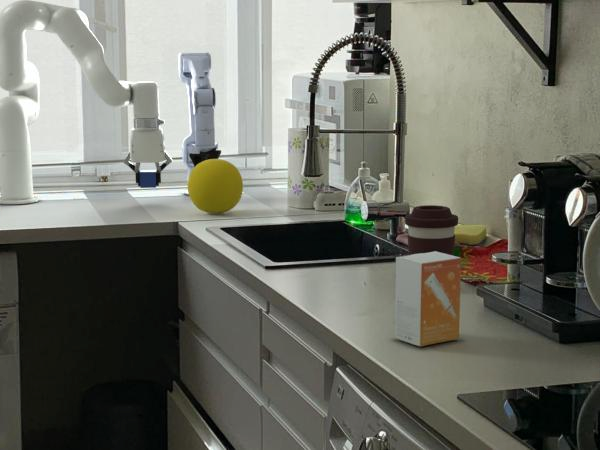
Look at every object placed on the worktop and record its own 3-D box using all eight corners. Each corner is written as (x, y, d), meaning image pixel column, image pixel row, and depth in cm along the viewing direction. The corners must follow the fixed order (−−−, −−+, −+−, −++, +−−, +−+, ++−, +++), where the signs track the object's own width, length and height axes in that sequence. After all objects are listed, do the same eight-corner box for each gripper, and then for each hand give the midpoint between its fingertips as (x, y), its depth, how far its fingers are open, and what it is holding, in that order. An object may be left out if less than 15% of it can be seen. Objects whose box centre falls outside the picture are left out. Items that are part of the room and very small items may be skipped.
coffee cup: (400, 280, 202) (400, 204, 200) (450, 279, 203) (451, 203, 201) (409, 292, 193) (410, 212, 190) (462, 291, 193) (463, 211, 191)
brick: (156, 187, 308) (155, 171, 307) (140, 187, 307) (139, 172, 306) (156, 185, 312) (156, 169, 312) (141, 185, 312) (140, 170, 311)
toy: (233, 207, 298) (232, 155, 296) (250, 215, 284) (249, 160, 281) (182, 210, 293) (181, 157, 290) (196, 219, 279) (195, 163, 276)
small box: (420, 347, 157) (421, 263, 155) (394, 338, 162) (394, 256, 160) (460, 339, 162) (462, 256, 159) (433, 330, 167) (434, 250, 165)
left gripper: (175, 122, 311) (177, 183, 314) (118, 123, 310) (120, 184, 313) (175, 124, 304) (177, 186, 307) (116, 125, 302) (118, 188, 305)
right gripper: (202, 127, 315) (203, 172, 317) (182, 131, 301) (183, 178, 303) (223, 128, 313) (224, 173, 315) (204, 131, 299) (205, 179, 301)
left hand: (148, 185), depth 310 cm, fingers closed on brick, 4 cm apart
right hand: (205, 175), depth 309 cm, fingers open, 7 cm apart
